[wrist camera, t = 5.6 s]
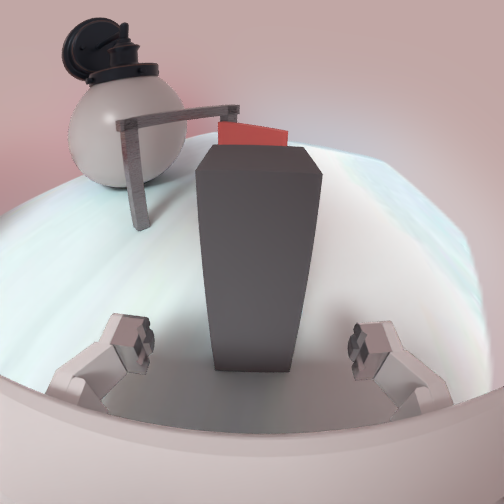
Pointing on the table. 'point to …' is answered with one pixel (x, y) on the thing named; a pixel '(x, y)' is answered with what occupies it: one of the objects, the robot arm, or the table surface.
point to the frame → (132, 149)
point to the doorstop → (256, 250)
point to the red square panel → (250, 135)
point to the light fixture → (117, 103)
